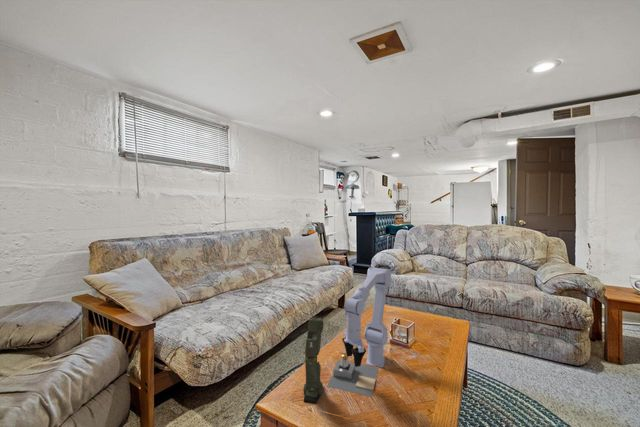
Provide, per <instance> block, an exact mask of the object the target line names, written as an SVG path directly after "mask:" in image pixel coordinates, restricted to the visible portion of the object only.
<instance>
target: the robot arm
mask: <svg viewBox="0 0 640 427" xmlns="http://www.w3.org/2000/svg"><path fill="white" fill-rule="evenodd" d="M391 278H392V274H391V271H390V269H386V268H385V269H384V268H380V267H373V266H370V267H368V269H367V273H366V279H365V281H364V283H363V284H362V285H360V286H358V287H357V289H356V290H355V292H353V294H352V295H351V297H348V298H346V299H345V300H344V306H343V310H344V312H345V313H344V314H345V316H346V330H344V333H343V335H344V337H343V338H341V340H342V342H343V344H344V345H343V346H344V349H345V353H346V354H347V356H348V357H349V358H350V357H353V363H354V364H355V367H358V366H360V365H361V364H362V361H363V358H364V356H365V354H366V352H367V357H366V362H365V364H366V365H367V366H372V367H377V368H384V365H385V361H386V356H385V355H384V346H385V345H386V344H387V343H388V336H389V335H388V334H389V333H388V328H387V326H386V325H385V324H384V323H383V321H384V320H383V319H384V312H385V302H386V294H387V288H389V287H390V285H391V280H392V279H391ZM373 287H375V293H374V299H373V300H374V301H373V308H372V317H371V321H369V322H367V323H366V325H365V329H364V332H363V337H364V339H365V341H366V344H367V348H365V346H364V345H363V340H362V336H361V335H362V332H361V330H362V324H361V323H362V314H363V311H364V308H365V303H366V302H367V300H368V299H369V297H370V295H371V292H370V291H371V290H372V288H373ZM354 347H355V348H354Z"/></svg>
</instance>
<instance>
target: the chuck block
mask: <svg viewBox="0 0 640 427" xmlns="http://www.w3.org/2000/svg"><path fill="white" fill-rule="evenodd" d="M354 372H355V364H354V362H353V361H349V366H348V370H345V369H341V359H338V360H337V361H336V363H335V365H334V367H333V369H332V375H333V377H338V378H342V379H347V380H352V378H353V375H354Z"/></svg>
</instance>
